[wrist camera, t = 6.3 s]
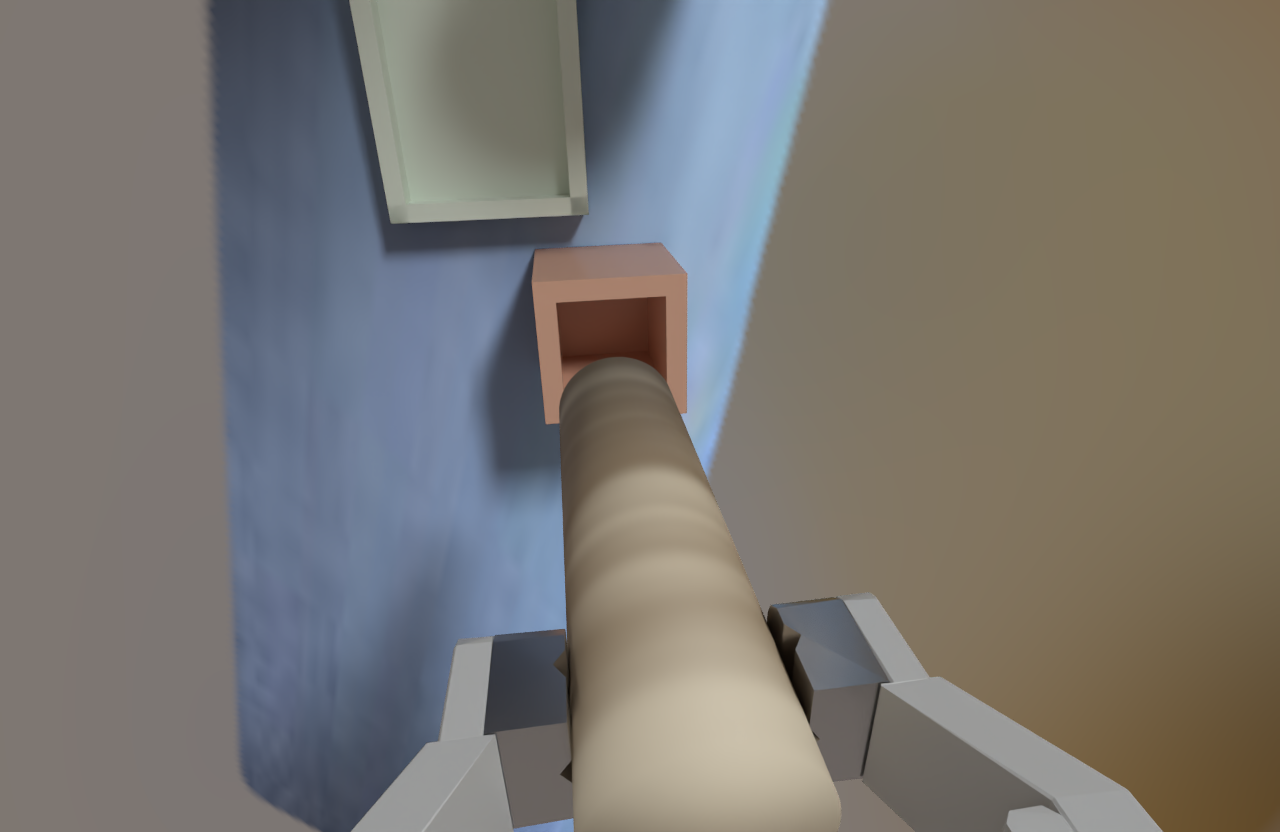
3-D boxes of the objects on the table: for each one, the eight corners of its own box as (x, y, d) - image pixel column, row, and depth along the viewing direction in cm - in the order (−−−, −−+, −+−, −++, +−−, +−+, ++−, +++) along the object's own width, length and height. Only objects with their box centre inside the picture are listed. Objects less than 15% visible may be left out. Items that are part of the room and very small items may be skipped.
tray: (343, -93, 26) (329, -106, 24) (568, -92, 27) (569, -105, 25) (399, 217, 31) (390, 223, 30) (586, 209, 32) (588, 214, 30)
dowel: (554, 361, 16) (564, 771, 6) (673, 352, 16) (856, 731, 7) (563, 464, 17) (584, 934, 8) (673, 455, 18) (827, 896, 8)
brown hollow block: (534, 249, 33) (531, 282, 26) (661, 242, 33) (687, 273, 27) (546, 368, 35) (545, 424, 29) (662, 360, 36) (686, 413, 30)
